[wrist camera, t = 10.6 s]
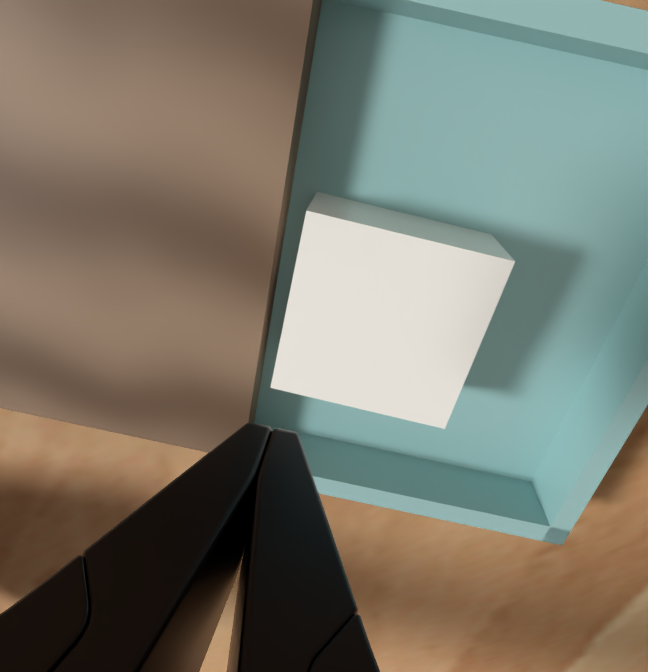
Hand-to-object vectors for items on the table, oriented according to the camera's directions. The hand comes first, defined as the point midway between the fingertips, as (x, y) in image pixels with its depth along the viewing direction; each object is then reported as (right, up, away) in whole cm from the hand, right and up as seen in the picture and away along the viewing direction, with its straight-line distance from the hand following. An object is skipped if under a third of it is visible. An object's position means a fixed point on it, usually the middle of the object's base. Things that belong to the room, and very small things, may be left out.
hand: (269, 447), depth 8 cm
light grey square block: (+3, +3, +10) cm, 10 cm away
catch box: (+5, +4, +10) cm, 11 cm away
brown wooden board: (-7, +6, +10) cm, 14 cm away
